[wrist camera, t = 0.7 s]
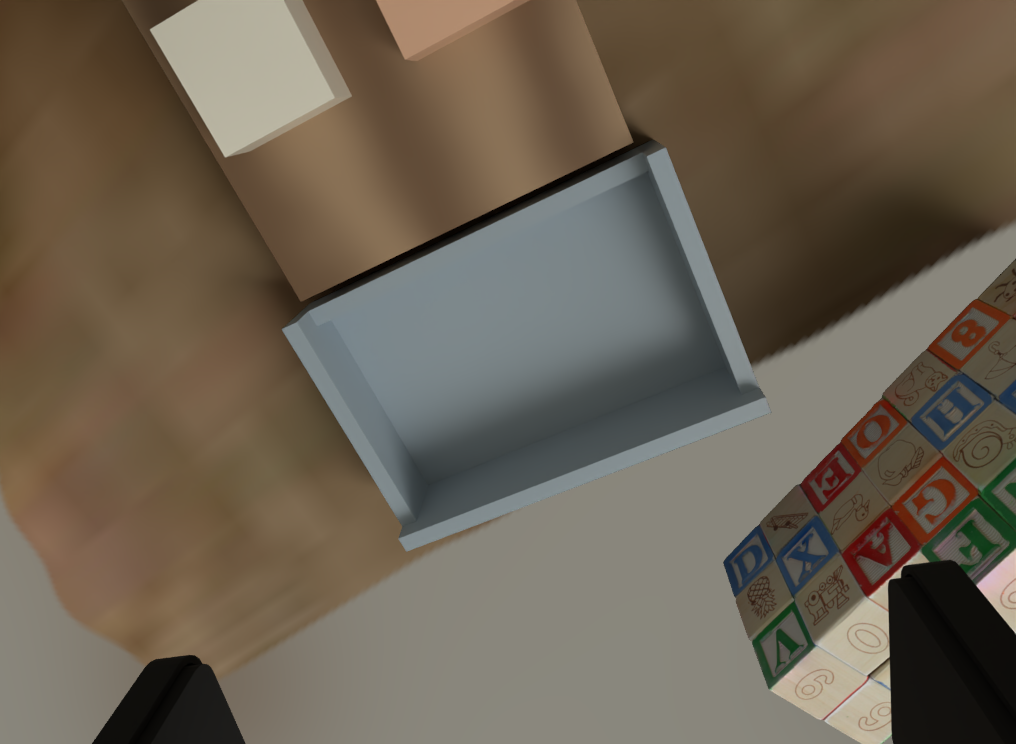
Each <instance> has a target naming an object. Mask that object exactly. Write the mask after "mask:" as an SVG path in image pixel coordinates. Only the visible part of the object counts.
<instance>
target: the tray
mask: <svg viewBox="0 0 1016 744" xmlns="http://www.w3.org/2000/svg"><path fill="white" fill-rule="evenodd" d="M282 331H283V332H284V334H285V336H286V337H287V339H288V340H289V342H290V344H291V345H292V347H293V349H294V350H295V352H296V353H297V355H298V357H299V358H300V360H301V362H302V363H303V365H304V367H305V368H306V370H307V371H308V373H309V375H310V376H311V378H312V380H313V381H314V383H315V385H316V386H317V388H318V389H319V391H320V393H321V394H322V396H323V398H324V399H325V401H326V403H327V404H328V406H329V407H330V409H331V411H332V412H333V414H334V416H335V417H336V419H337V420H338V422H339V424H340V425H341V427H342V429H343V430H344V432H345V434H346V435H347V437H348V438H349V440H350V442H351V443H352V445H353V447H354V448H355V450H356V452H357V453H358V455H359V456H360V458H361V460H362V461H363V463H364V465H365V466H366V468H367V470H368V471H369V473H370V474H371V476H372V478H373V479H374V481H375V483H376V484H377V486H378V487H379V489H380V491H381V492H382V494H383V496H384V497H385V499H386V501H387V502H388V504H389V505H390V507H391V509H392V510H393V512H394V514H395V515H396V517H397V519H398V520H399V522H400V523H401V525H402V530H401V533H400V536H399V540H400V542H401V543H402V545H403V547H404V548H405V550H406V552H407V551H409V550H412V549H415V548H417V547H420V546H422V545H425V544H428V543H430V542H433V541H436V540H438V539H441V538H443V537H446V536H449V535H451V534H454V533H457V532H459V531H462V530H464V529H467V528H470V527H472V526H475V525H478V524H480V523H483V522H486V521H488V520H491V519H493V518H496V517H499V516H501V515H504V514H507V513H509V512H512V511H514V510H517V509H520V508H522V507H525V506H528V505H530V504H533V503H535V502H538V501H541V500H543V499H546V498H549V497H551V496H554V495H556V494H559V493H562V492H564V491H567V490H569V489H572V488H575V487H577V486H580V485H583V484H585V483H588V482H590V481H593V480H596V479H599V478H601V477H604V476H606V475H609V474H612V473H614V472H617V471H619V470H622V469H624V468H627V467H630V466H633V465H635V464H638V463H641V462H643V461H646V460H649V459H651V458H654V457H656V456H659V455H661V454H664V453H667V452H670V451H672V450H675V449H677V448H680V447H682V446H685V445H688V444H691V443H693V442H696V441H698V440H701V439H704V438H706V437H709V436H712V435H714V434H717V433H719V432H722V431H725V430H727V429H730V428H733V427H735V426H738V425H741V424H743V423H746V422H748V421H751V420H753V419H756V418H759V417H762V416H764V415H767V414H769V413H771V410H770V408H769V405H768V402H767V400H766V397H765V396H764V395H763V392H762V391H761V389H760V388H759V385H758V383H757V380H756V377H755V375H754V372H753V370H752V367H751V365H750V362H749V360H748V357H747V354H746V352H745V349H744V347H743V344H742V342H741V339H740V336H739V334H738V331H737V329H736V326H735V324H734V321H733V319H732V316H731V313H730V311H729V308H728V306H727V303H726V301H725V298H724V295H723V293H722V290H721V288H720V285H719V283H718V280H717V278H716V275H715V272H714V270H713V267H712V265H711V262H710V260H709V257H708V254H707V252H706V249H705V247H704V244H703V242H702V239H701V237H700V234H699V231H698V229H697V226H696V224H695V221H694V219H693V216H692V213H691V211H690V208H689V206H688V203H687V201H686V198H685V196H684V193H683V190H682V188H681V185H680V183H679V180H678V178H677V175H676V172H675V170H674V167H673V165H672V162H671V160H670V157H669V155H668V152H667V149H666V147H664V146H663V145H661V144H660V143H658V142H657V141H655V140H654V139H653V140H651V141H649V142H647V143H644V144H642V145H640V146H638V147H636V148H634V149H632V150H630V151H628V152H626V153H624V154H621V155H619V156H617V157H615V158H613V159H611V160H609V161H607V162H605V163H603V164H601V165H598V166H596V167H594V168H592V169H590V170H588V171H586V172H584V173H582V174H580V175H578V176H575V177H573V178H571V179H569V180H567V181H565V182H563V183H561V184H559V185H557V186H554V187H552V188H550V189H548V190H546V191H544V192H542V193H540V194H538V195H536V196H534V197H531V198H529V199H527V200H525V201H523V202H521V203H519V204H517V205H515V206H513V207H511V208H508V209H506V210H504V211H502V212H500V213H498V214H496V215H494V216H492V217H490V218H487V219H485V220H483V221H481V222H479V223H477V224H475V225H473V226H471V227H469V228H467V229H464V230H462V231H460V232H458V233H456V234H454V235H452V236H450V237H448V238H446V239H444V240H441V241H439V242H437V243H435V244H433V245H431V246H429V247H427V248H425V249H423V250H421V251H418V252H416V253H414V254H412V255H410V256H408V257H406V258H404V259H402V260H400V261H397V262H395V263H393V264H391V265H389V266H387V267H385V268H383V269H381V270H379V271H377V272H374V273H372V274H370V275H368V276H366V277H364V278H362V279H360V280H358V281H356V282H354V283H351V284H349V285H347V286H345V287H343V288H341V289H339V290H337V291H335V292H333V293H330V294H328V295H326V296H324V297H322V298H320V299H318V300H316V301H314V302H312V303H310V304H309V305H307V306H306V307H305V308H304V309H303V310H302V311H301V312H300V313H299V314H298V315H297V316H296V317H294V318H293V319H292V320H291V321H290V322H289V323H288V324H287V325H286V326H285V327H284V328H283V329H282Z"/></svg>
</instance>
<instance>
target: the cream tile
mask: <svg viewBox="0 0 1016 744" xmlns="http://www.w3.org/2000/svg"><path fill="white" fill-rule="evenodd" d="M150 31H151V33H152V34H153V36H154V38H155V39H156V41H157V43H158V45H159V46H160V48H161V50H162V51H163V53H164V55H165V56H166V58H167V60H168V61H169V63H170V65H171V67H172V68H173V70H174V72H175V73H176V75H177V77H178V78H179V80H180V82H181V83H182V85H183V87H184V89H185V90H186V92H187V94H188V95H189V97H190V99H191V100H192V102H193V104H194V106H195V107H196V109H197V111H198V112H199V114H200V116H201V117H202V119H203V121H204V122H205V124H206V126H207V128H208V129H209V131H210V133H211V134H212V136H213V138H214V139H215V141H216V143H217V144H218V146H219V148H220V150H221V151H222V153H223V155H224V156H225V157H229V156H233V155H237V154H241V153H246V152H250V151H252V150H254V149H255V148H257V147H259V146H261V145H263V144H265V143H266V142H268V141H270V140H272V139H274V138H276V137H278V136H279V135H281V134H283V133H285V132H287V131H289V130H291V129H292V128H294V127H296V126H298V125H300V124H302V123H303V122H305V121H307V120H309V119H311V118H313V117H315V116H316V115H318V114H320V113H322V112H324V111H326V110H328V109H329V108H331V107H333V106H335V105H337V104H339V103H340V102H342V101H344V100H346V99H348V98H350V97H352V95H351V93H350V91H349V89H348V87H347V85H346V83H345V81H344V79H343V77H342V76H341V74H340V72H339V70H338V68H337V66H336V64H335V62H334V60H333V58H332V56H331V54H330V52H329V50H328V49H327V47H326V45H325V43H324V41H323V39H322V37H321V35H320V33H319V31H318V29H317V27H316V25H315V24H314V22H313V20H312V18H311V16H310V14H309V12H308V10H307V8H306V6H305V4H304V2H303V0H198V1H196V2H194V3H193V4H191V5H189V6H188V7H186V8H185V9H183V10H181V11H180V12H178V13H176V14H175V15H173V16H171V17H170V18H168V19H166V20H165V21H163V22H161V23H160V24H158V25H156V26H155V27H153V28H151V29H150Z"/></svg>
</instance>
